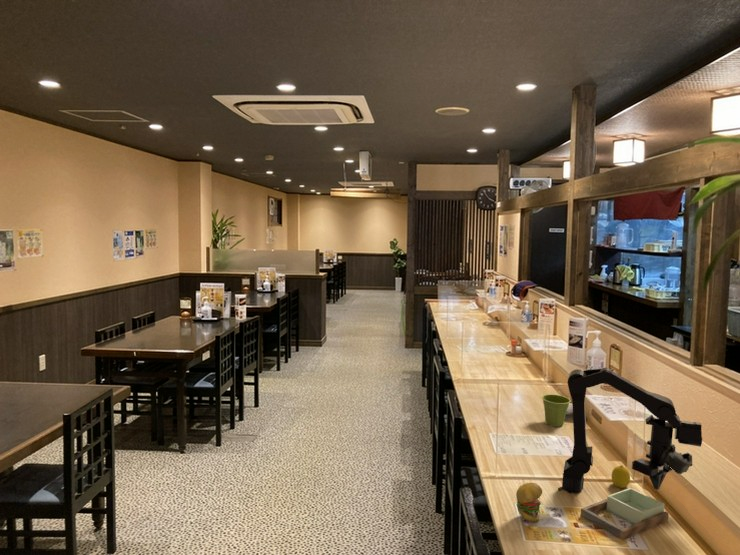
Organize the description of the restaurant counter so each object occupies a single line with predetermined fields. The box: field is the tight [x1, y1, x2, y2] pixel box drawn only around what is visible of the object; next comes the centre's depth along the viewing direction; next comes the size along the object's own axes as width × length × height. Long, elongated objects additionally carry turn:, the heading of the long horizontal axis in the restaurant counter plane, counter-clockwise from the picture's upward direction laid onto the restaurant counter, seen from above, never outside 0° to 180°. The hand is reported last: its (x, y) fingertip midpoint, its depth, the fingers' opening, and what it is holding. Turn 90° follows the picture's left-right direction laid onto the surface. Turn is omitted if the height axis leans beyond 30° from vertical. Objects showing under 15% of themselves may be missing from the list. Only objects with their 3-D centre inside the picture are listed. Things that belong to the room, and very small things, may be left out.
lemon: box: [611, 465, 631, 489], centre depth 184 cm, size 6×6×8 cm
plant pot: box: [541, 393, 572, 428], centre depth 241 cm, size 12×12×11 cm
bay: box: [580, 498, 670, 541], centre depth 163 cm, size 21×14×4 cm, turn 121°
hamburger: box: [515, 480, 543, 523], centre depth 163 cm, size 8×7×12 cm
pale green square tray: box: [605, 487, 666, 525], centre depth 166 cm, size 11×11×4 cm
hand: (656, 489), depth 171 cm, fingers closed
